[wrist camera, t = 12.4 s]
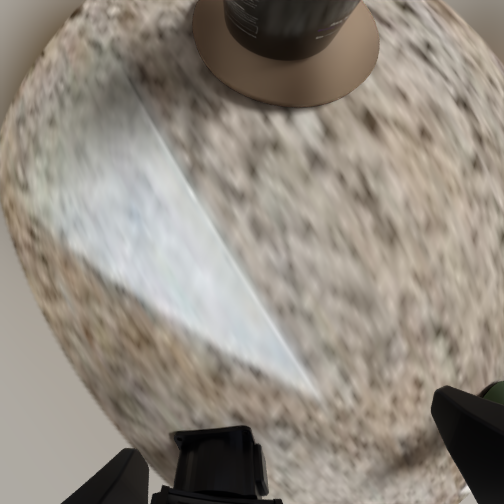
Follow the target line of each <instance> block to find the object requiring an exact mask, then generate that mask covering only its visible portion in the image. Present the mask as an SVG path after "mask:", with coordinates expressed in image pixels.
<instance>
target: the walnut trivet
mask: <svg viewBox="0 0 504 504" xmlns="http://www.w3.org/2000/svg"><path fill="white" fill-rule="evenodd" d="M192 26H193V35H194V39H195V43H196V46H197V49H198V51H199V54H200V56H201V58H202V60H203V61H204V63H205V64H206V66H207V67H208V68H209V70H210V71H211V72H212V73H213V74H214V75H215V76H216V77H217V78H218V79H219V80H221V81H222V82H223V83H224V84H226V85H227V86H228V87H230V88H231V89H233V90H234V91H236V92H238V93H240V94H242V95H244V96H246V97H249V98H251V99H254V100H256V101H260V102H263V103H267V104H270V105H276V106H282V107H296V108H297V107H312V106H318V105H323V104H326V103H330V102H333V101H335V100H338V99H340V98H342V97H344V96H345V95H347V94H349V93H350V92H352V91H353V90H354V89H355V88H357V87H358V86H359V85H360V84H361V83H363V82H364V81H365V80H366V78H367V77H368V76H369V75H370V73H371V72H372V70H373V68H374V67H375V64H376V61H377V59H378V54H379V34H378V29H377V26H376V23H375V21H374V19H373V16H372V14H371V13H370V11H369V9H368V8H367V6H366V5H365V4H364V2H363V1H362V0H361V1H360V2H359V4H358V5H357V7H356V8H355V9H354V11H353V12H352V14H351V15H350V16H349V18H348V19H347V21H346V22H345V23H344V25H343V26H342V28H341V29H340V31H339V32H338V33H337V35H336V36H335V37H334V39H333V40H332V42H331V43H330V44H329V45H328V46H327V47H326V48H325V49H324V50H323V51H321V52H320V53H318V54H316V55H314V56H312V57H309V58H306V59H302V60H295V61H280V60H273V59H268V58H265V57H262V56H259V55H257V54H254V53H252V52H250V51H248V50H247V49H245V48H244V47H242V46H241V45H240V44H239V43H238V42H237V41H236V40H235V39H234V38H233V37H232V35H231V34H230V32H229V31H228V29H227V26H226V23H225V18H224V8H223V0H199V1H198V3H197V5H196V7H195V10H194V14H193V22H192Z"/></svg>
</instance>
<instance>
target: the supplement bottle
mask: <svg viewBox="0 0 504 504" xmlns="http://www.w3.org/2000/svg"><path fill="white" fill-rule="evenodd" d="M360 1H361V0H223V8H224V18H225V23H226V26H227V29H228V31H229V32H230V34H231V35H232V37H233V38H234V39H235V40H236V41H237V42H238V43H239V44H240V45H241V46H242V47H244V48H245V49H247V50H248V51H250V52H252V53H254V54H257V55H259V56H262V57H265V58H268V59H273V60H280V61H295V60H302V59H306V58H309V57H312V56H314V55H316V54H318V53H320V52H321V51H323V50H324V49H325V48H326V47H327V46H328V45H329V44H330V43H331V42H332V40H333V39H334V37H335V36H336V35H337V33H338V32H339V31H340V29H341V28H342V26H343V25H344V23H345V22H346V21H347V19H348V18H349V16H350V15H351V14H352V12H353V11H354V9H355V8H356V7H357V5H358V4H359V2H360Z"/></svg>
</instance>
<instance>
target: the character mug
mask: <svg viewBox="0 0 504 504" xmlns="http://www.w3.org/2000/svg"><path fill="white" fill-rule="evenodd" d="M483 398H484V399H487V400H490V401H493V402H496V403H499V404H502V405H504V381H501V382H498V383H497V384H496V385H494V386H493V387H492V388H491V389H490V390H489V391H488V392H487V394H486V395H485V396H484V397H483Z"/></svg>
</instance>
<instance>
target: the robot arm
mask: <svg viewBox="0 0 504 504" xmlns="http://www.w3.org/2000/svg"><path fill="white" fill-rule="evenodd" d="M431 414H432V417H433V419H434V421H435V423H436V425H437V427H438V430H439V432H440V434H441V436H442V439H443V441H444V443H445V446H446V448H447V450H448V452H449V453H450V455H451V457H452V459H453V460H454V462H455V464H456V465H457V467H458V469H459V471H460V472H461V474H462V476H463V478H464V479H465V481H466V483H467V485H468V486H469V488H470V490H471V492H472V494H473V495H474V497H475V499H476V501H477V503H478V504H504V405H502V404H499V403H496V402H493V401H490V400H487V399H484V398H481V397H478V396H476V395H473V394H470V393H467V392H464V391H462V390H459V389H456V388H453V387H451V386H443V387H441V388H439V389H437V390H436V391H435V392H434V396H433V401H432V405H431ZM244 431H245V432H244ZM179 437H180V438H179ZM174 440H175V442H176V444H177V446H178V448H179V450H180V453H179V459H178V464H177V470H176V475H175V481H174V487H173V488H170V487H169V486H165V485H162V488H161V492H158V493H154V494H153V495H152V499H151V504H283V503H282V500H281V499H273V500H264V499H262V496H267V495H268V493H269V489H268V480H267V471H266V461H265V457H264V454H263V451H262V447H261V445H260V444H256V443H255V440H254V437H253V434H252V430H251V428H250V427H247V426H242V427H234V428H226V429H216V430H206V431H192V432H177V433H175V435H174ZM148 482H149V467H148V464H147V462H146V461H145V460H144V458H143V457H142V455H141V454H140V452H139V451H138V450H137V449H135V448H124V449H123V450H121V451H120V452H119V453H118V454H117V455H116V456H115V457H114V458H113V459H112V460H110V461H109V462H108V463H107V464H106V465H105V466H104V467H103V468H102V469H101V470H99V471H98V472H97V473H96V474H95V475H94V476H93V477H91V478H90V479H89V480H88V481H87V482H86V483H85V484H83V485H82V486H81V487H80V488H79V489H78V490H76V491H75V492H74V493H73V494H72V495H71V496H69V497H68V498H67V499H66V500H65V501H63V502H62V503H61V504H148Z"/></svg>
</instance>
